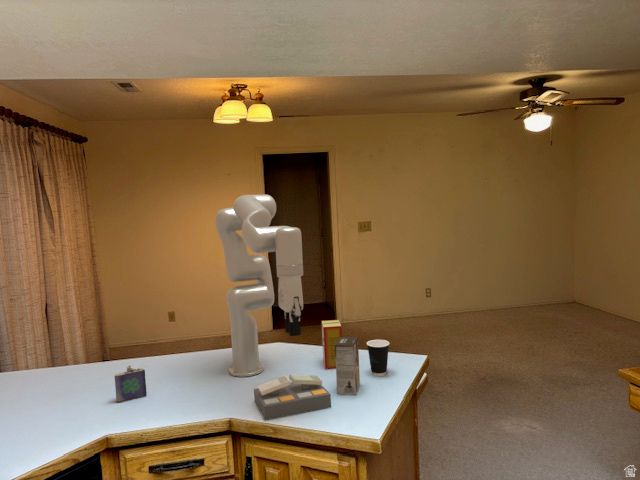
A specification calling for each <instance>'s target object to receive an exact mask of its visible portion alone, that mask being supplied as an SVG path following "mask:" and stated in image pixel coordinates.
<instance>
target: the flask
mask: <svg viewBox="0 0 640 480" xmlns="http://www.w3.org/2000/svg"><path fill="white" fill-rule="evenodd" d="M146 381H147V380H146V370H145V369H144V368H141V367H140V368H139V367H136V368H133V367H132V366H131V365H128V366H126V371H123V372H119V373H116V374H115V375H114V387H115V401H116V403H124V402H128V401H133V400H135V399H136V400H137V399H141V398H145V397H147V393H148V392H147V382H146Z"/></svg>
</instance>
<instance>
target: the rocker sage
mask: <svg viewBox="0 0 640 480" xmlns="http://www.w3.org/2000/svg"><path fill="white" fill-rule="evenodd" d="M288 377H289V378H288V379H289V380H290V382H293V383H294V384H314V385H322V386H323V380H322V379H321V378H320V376H318V375H316V374H315V375H311V374H292V373H291V374H289V376H288Z"/></svg>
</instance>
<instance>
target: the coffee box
mask: <svg viewBox="0 0 640 480" xmlns="http://www.w3.org/2000/svg"><path fill="white" fill-rule="evenodd" d="M359 355H360V353H359V336H342V337H339V339H338V341H337V343H336V344H335V357H336V369H335V374H336V394H337V395H343V394H346V395H348V396H349V395H350V396H356V395H357V394H358V390H359V388H360V385H361V380H360V359H359V358H360V356H359ZM346 395H345V396H346Z"/></svg>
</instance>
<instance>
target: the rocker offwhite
mask: <svg viewBox="0 0 640 480" xmlns="http://www.w3.org/2000/svg"><path fill="white" fill-rule="evenodd" d="M290 384H291V380H290V379H289V378H288V376H287V375H282V376H279V377H277V378H274V379H272V380H269V381H266V382H264V383H261V384H259V385H257V388H258V390H259V391H260V393H261V395H262V396H263V395H265V394H268V393H270V392H273V391H275V390H278V389H280V388H283V387H285V386H288V385H290Z"/></svg>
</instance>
